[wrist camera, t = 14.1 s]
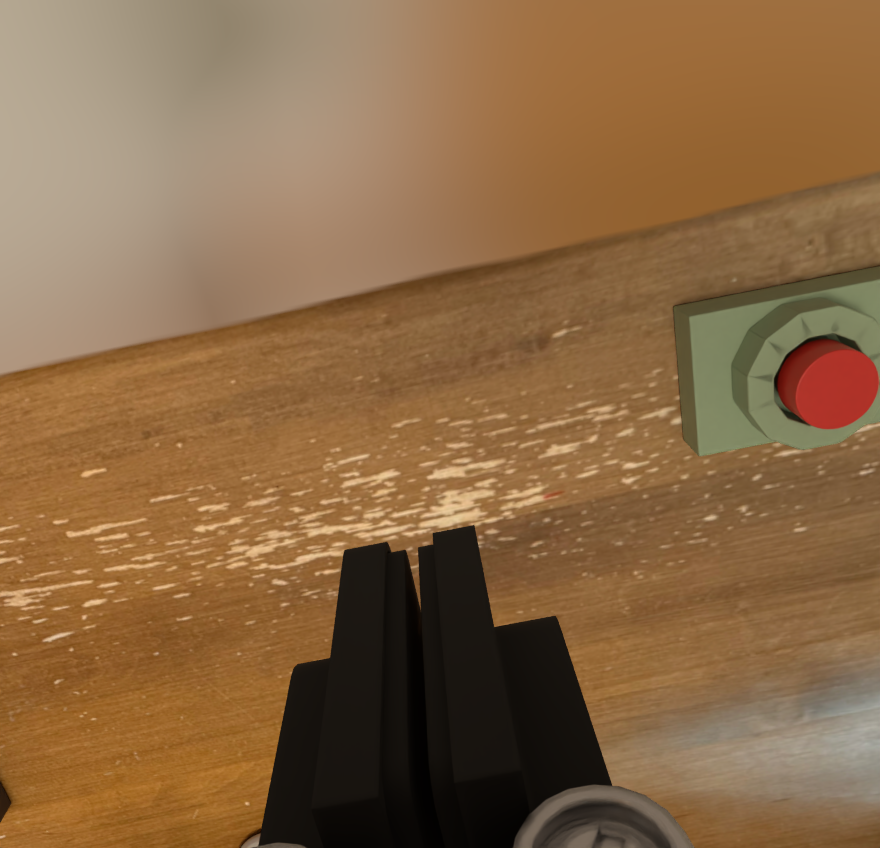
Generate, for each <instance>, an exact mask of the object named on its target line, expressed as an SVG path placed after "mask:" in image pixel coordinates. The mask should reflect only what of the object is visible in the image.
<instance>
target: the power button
mask: <svg viewBox="0 0 880 848" xmlns="http://www.w3.org/2000/svg"><path fill="white" fill-rule="evenodd" d="M777 388H778V394H779V397H780V399H781V401H782V403H783V404H784V405H785V407H786V408H787V409H789V410H790V411H791V412H793V413H794V414H795V415H797V416H798V417H800V418H801V419H802V420H804V421H805V422H807V423H808V424H810V425H811V426H814V427H816V428H820V429H838V428H842V427H845V426H847V425H849V424H851V423H853V422H855V421H856V420H858V419H859V418H860V417H862V416H863V415H864V414H865V413H866V412H867V411H868V409H869V408H870V407H871V405H872V404H873V402H874V400H875V398H876V395H877V392H878V388H879V376H878V371H877V369H876V366H875V365H874V363H873V362H872V360H871V359H870V358H869V357H868V356H866V355H865V354H863V353H861V352H859V351H857V350H855V349H853V348H851V347H849V346H847V345H845V344H843V343H841V342H838V341H835V340H830V339H820V340H815V341H811V342H809V343H806V344H804V345H802V346H800V347H799V348H797V349H796V350H795V351H794V352H793V353H792V354H791V355H790V356H789V357H788V358H787V359H786V361H785V362H784V364H783V365H782V367H781V370H780V372H779V376H778V381H777Z"/></svg>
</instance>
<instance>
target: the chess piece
mask: <svg viewBox="0 0 880 848" xmlns="http://www.w3.org/2000/svg"><path fill="white" fill-rule="evenodd" d="M260 834H261V833H260ZM260 834H257V835H255V836H253V837H251V838H250V839H248V840H247V841H246V842H245V843H244V844H243V845H242V846H241V848H252V847H257V846H258V844H259V839H260Z"/></svg>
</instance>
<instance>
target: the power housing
mask: <svg viewBox="0 0 880 848" xmlns="http://www.w3.org/2000/svg"><path fill="white" fill-rule="evenodd" d="M673 310H674V323H675V336H676V349H677V362H678V375H679V388H680V401H681V414H682V428H683V439H684V441H685V442H686V443H687V444H688V445H689V446H690V447H691V448H692V449H693V450H694V451H695V453H696V454H697V455H698V456H704V455H709V454H715V453H720V452H725V451H730V450H736V449H741V448H746V447H751V446H756V445H762V444H767V443H772V442H779V443H782V444H785V445H788V446H791V447H794V448H797V449H802V450H805V449H811V448H816V447H821V446H826V445H832V444H837V443H839V442H842V441H843V440H845V439H846V438H848V437H849V436H850V435H852V434H853V433H855V432H856V431H857V430H859V429H860V428H862V427H863V426H864V425H866V424H871V423H877V422H880V266H878V267H873V268H867V269H862V270H857V271H852V272H847V273H842V274H837V275H832V276H827V277H821V278H816V279H811V280H806V281H801V282H796V283H791V284H786V285H780V286H775V287H770V288H765V289H760V290H755V291H750V292H745V293H739V294H734V295H729V296H724V297H719V298H714V299H709V300H704V301H698V302H693V303H688V304H683V305H678V306H674V308H673ZM820 339H830V340H835V341H838V342H841V343H843V344H845V345H847V346H849V347H851V348H853V349H855V350H857V351H859V352H861V353H863V354H865V355H866V356H868V357H869V358H870V359H871V360H872V362H873V363H874V365H875V366H876V369H877V371H878V376H879V388H878V392H877V395H876V398H875V400H874V402H873V404H872V405H871V407H870V408H869V409H868V411H867V412H866V413H865V414H864V415H863V416H862V417H860V418H859V419H858V420H856V421H855V422H853V423H851V424H849V425H847V426H845V427H842V428H838V429H820V428H816V427H814V426H811V425H810V424H808V423H807V422H805V421H804V420H802V419H801V418H800V417H798V416H797V415H795V414H794V413H793V412H791V411H790V410H789V409H787V408H786V407H785V405H784V404H783V403H782V401H781V399H780V397H779V394H778V388H777V381H778V376H779V372H780V370H781V367H782V365H783V364H784V362H785V361H786V359H787V358H788V357H789V356H790V355H791V354H792V353H793V352H794V351H795V350H796V349H797V348H799V347H800V346H802V345H804V344H806V343H809V342H811V341H815V340H820Z"/></svg>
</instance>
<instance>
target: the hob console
mask: <svg viewBox="0 0 880 848" xmlns="http://www.w3.org/2000/svg"><path fill="white" fill-rule="evenodd" d="M10 805H11V802H10V800H9V799H8V797H7V795H6V793H5V791H4V789H3V787H2V785H1V783H0V822H1V820H2V819H3V817H4V815H5V813H6V812H7V810H8V808H9V806H10Z"/></svg>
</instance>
